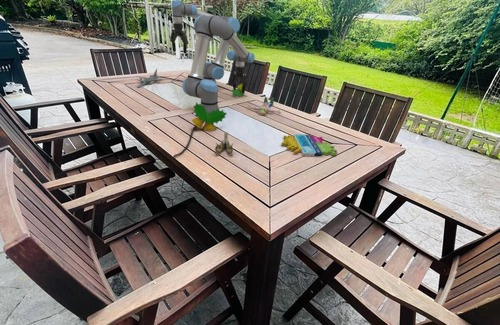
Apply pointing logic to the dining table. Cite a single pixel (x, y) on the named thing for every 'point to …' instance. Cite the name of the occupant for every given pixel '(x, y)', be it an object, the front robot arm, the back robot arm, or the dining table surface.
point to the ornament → (207, 117)
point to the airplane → (149, 79)
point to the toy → (265, 107)
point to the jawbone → (224, 145)
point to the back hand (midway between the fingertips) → (179, 52)
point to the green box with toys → (238, 91)
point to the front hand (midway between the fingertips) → (238, 92)
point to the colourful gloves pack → (308, 145)
